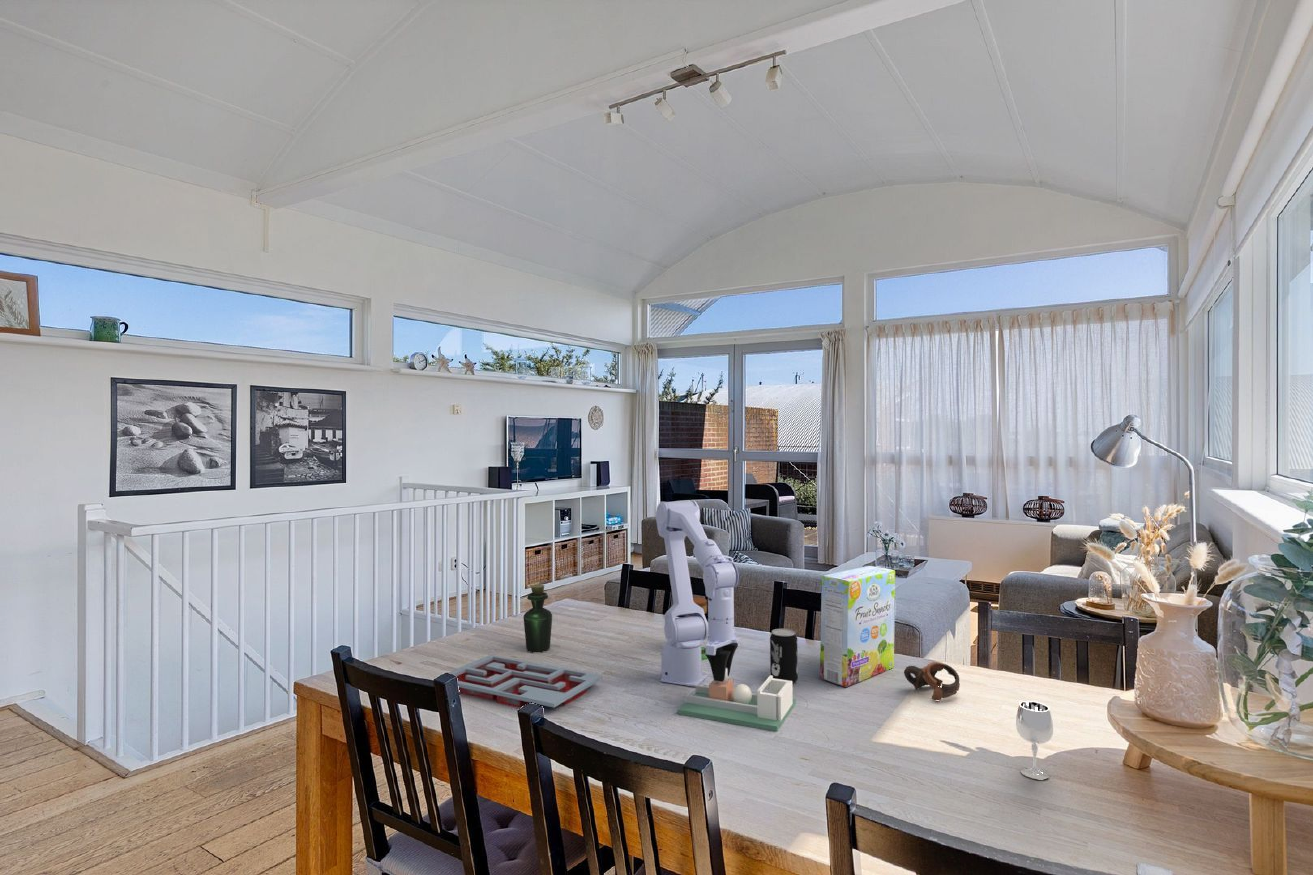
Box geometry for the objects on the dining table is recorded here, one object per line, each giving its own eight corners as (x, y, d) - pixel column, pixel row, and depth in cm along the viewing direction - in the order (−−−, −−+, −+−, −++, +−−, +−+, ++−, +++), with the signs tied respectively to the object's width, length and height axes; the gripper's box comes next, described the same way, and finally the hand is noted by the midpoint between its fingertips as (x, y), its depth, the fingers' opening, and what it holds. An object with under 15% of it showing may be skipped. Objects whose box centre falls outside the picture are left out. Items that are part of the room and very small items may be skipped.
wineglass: (1009, 767, 124) (1008, 700, 124) (1039, 765, 124) (1039, 699, 124) (1029, 783, 118) (1028, 713, 118) (1061, 781, 119) (1060, 711, 119)
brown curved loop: (952, 689, 163) (963, 665, 159) (952, 720, 156) (963, 696, 151) (900, 672, 167) (909, 648, 162) (897, 701, 159) (907, 677, 155)
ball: (729, 706, 150) (729, 686, 150) (735, 699, 154) (735, 680, 154) (748, 709, 148) (748, 689, 148) (754, 702, 152) (754, 682, 152)
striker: (709, 702, 152) (708, 670, 152) (716, 694, 156) (716, 664, 156) (726, 705, 150) (726, 673, 150) (733, 697, 155) (733, 666, 155)
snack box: (849, 689, 162) (848, 580, 162) (818, 680, 169) (817, 575, 169) (897, 668, 177) (896, 568, 177) (867, 660, 183) (866, 563, 183)
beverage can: (797, 686, 165) (797, 636, 165) (769, 684, 166) (769, 634, 166) (797, 676, 171) (797, 628, 171) (770, 675, 172) (770, 627, 172)
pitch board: (677, 713, 149) (677, 702, 149) (703, 688, 163) (703, 678, 163) (777, 731, 140) (777, 719, 140) (795, 703, 154) (795, 692, 154)
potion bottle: (538, 643, 201) (537, 581, 201) (558, 648, 196) (558, 585, 196) (517, 650, 194) (516, 586, 194) (538, 655, 190) (537, 590, 190)
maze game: (434, 691, 165) (434, 678, 165) (490, 666, 182) (490, 654, 182) (554, 718, 148) (554, 703, 148) (602, 688, 166) (602, 675, 166)
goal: (757, 716, 145) (757, 690, 145) (770, 700, 154) (770, 675, 154) (780, 720, 142) (780, 693, 142) (792, 703, 152) (792, 678, 151)
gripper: (727, 627, 145) (728, 691, 145) (748, 611, 158) (748, 670, 158) (696, 623, 148) (696, 686, 148) (719, 608, 161) (719, 666, 161)
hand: (721, 678), depth 153 cm, fingers closed on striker, 3 cm apart
